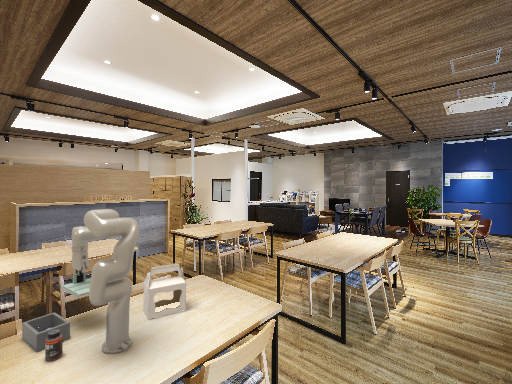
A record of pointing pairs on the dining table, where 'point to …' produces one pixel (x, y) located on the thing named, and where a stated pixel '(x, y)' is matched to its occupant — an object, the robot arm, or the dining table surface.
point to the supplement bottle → (53, 345)
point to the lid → (78, 286)
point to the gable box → (164, 285)
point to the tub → (44, 330)
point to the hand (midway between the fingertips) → (79, 281)
